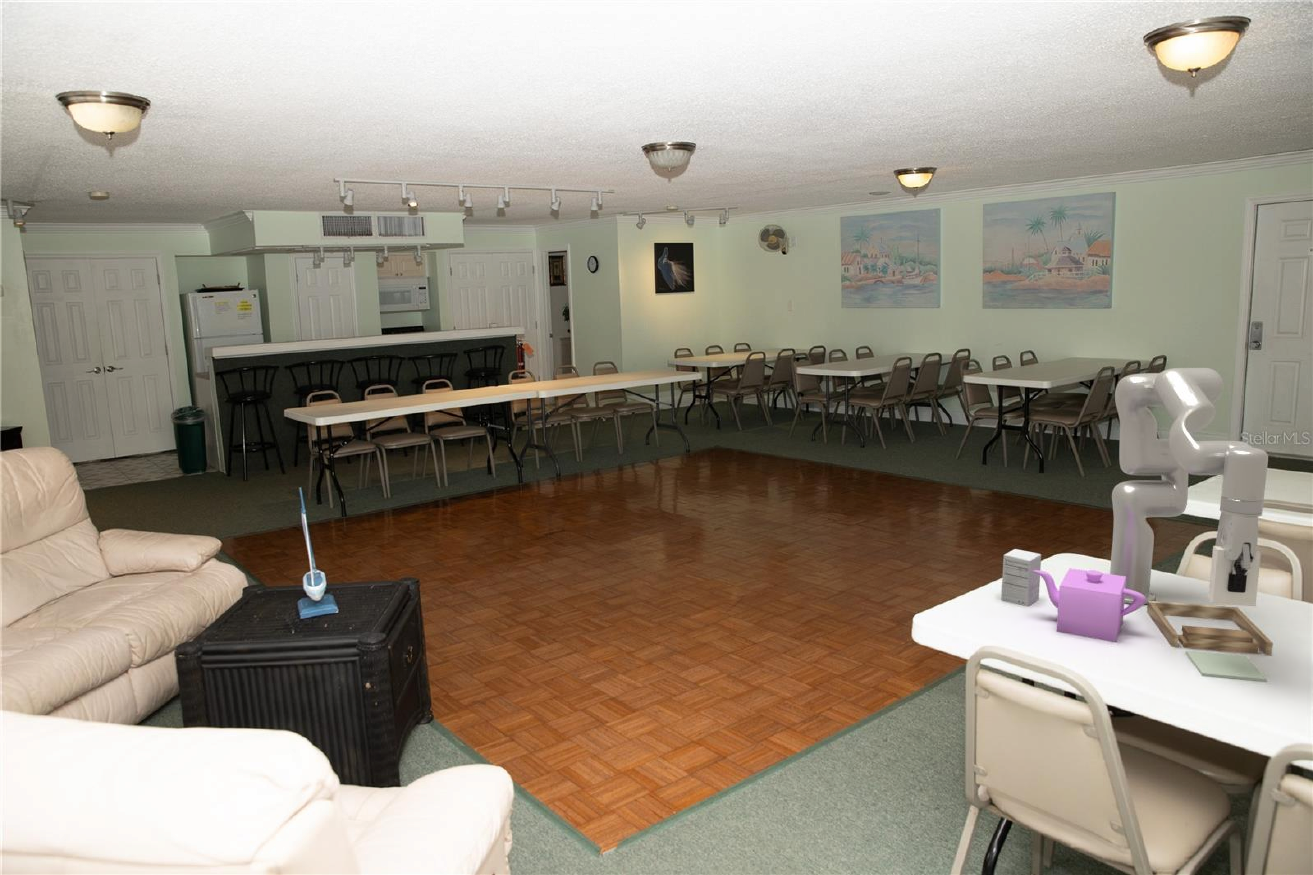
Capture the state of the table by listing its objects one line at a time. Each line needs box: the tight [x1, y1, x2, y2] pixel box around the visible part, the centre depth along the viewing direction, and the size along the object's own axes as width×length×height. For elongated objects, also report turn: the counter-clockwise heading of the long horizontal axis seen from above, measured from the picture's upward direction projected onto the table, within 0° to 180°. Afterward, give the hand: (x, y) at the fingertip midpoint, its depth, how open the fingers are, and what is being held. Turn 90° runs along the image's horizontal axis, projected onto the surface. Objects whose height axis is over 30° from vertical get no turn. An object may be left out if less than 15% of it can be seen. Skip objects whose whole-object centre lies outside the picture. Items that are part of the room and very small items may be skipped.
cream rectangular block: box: [1208, 545, 1262, 607], centre depth 188 cm, size 8×3×12 cm, turn 74°
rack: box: [1146, 600, 1273, 656], centre depth 210 cm, size 20×22×3 cm
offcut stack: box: [1178, 624, 1260, 655], centre depth 202 cm, size 15×5×4 cm, turn 74°
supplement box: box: [1000, 548, 1042, 607], centre depth 233 cm, size 7×7×13 cm
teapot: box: [1034, 567, 1146, 643], centre depth 215 cm, size 15×25×14 cm, turn 57°
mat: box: [1184, 649, 1268, 682], centre depth 192 cm, size 12×12×1 cm
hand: (1233, 588), depth 189 cm, fingers closed on cream rectangular block, 3 cm apart
